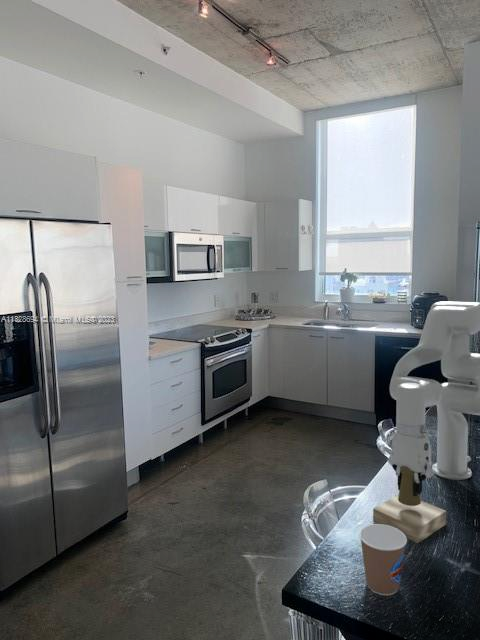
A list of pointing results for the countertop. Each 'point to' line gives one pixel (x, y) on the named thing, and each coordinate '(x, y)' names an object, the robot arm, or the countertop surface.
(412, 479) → the olive tall waisted piece
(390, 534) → the coffee cup
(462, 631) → the countertop surface
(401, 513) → the birch plinth
